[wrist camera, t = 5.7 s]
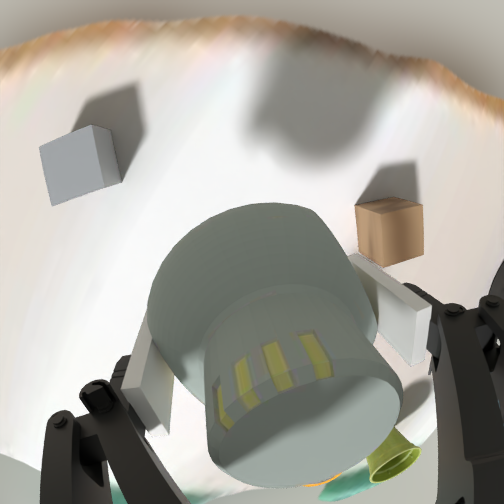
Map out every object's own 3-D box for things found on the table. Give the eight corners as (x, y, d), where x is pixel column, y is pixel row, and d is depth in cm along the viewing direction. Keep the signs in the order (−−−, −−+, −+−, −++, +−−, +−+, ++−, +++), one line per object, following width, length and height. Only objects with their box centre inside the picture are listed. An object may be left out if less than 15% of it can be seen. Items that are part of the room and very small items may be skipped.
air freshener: (356, 324, 18) (448, 433, 8) (246, 389, 18) (276, 524, 9) (272, 168, 14) (386, 183, 5) (136, 257, 15) (55, 388, 5)
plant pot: (346, 433, 40) (366, 472, 32) (396, 405, 40) (422, 440, 32) (355, 454, 43) (373, 488, 35) (400, 429, 43) (421, 460, 35)
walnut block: (393, 196, 29) (422, 204, 24) (396, 241, 31) (423, 254, 26) (354, 205, 29) (380, 214, 24) (358, 251, 30) (383, 267, 25)
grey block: (110, 130, 23) (91, 124, 18) (122, 182, 24) (104, 187, 20) (64, 147, 22) (38, 146, 18) (75, 197, 24) (52, 206, 19)
